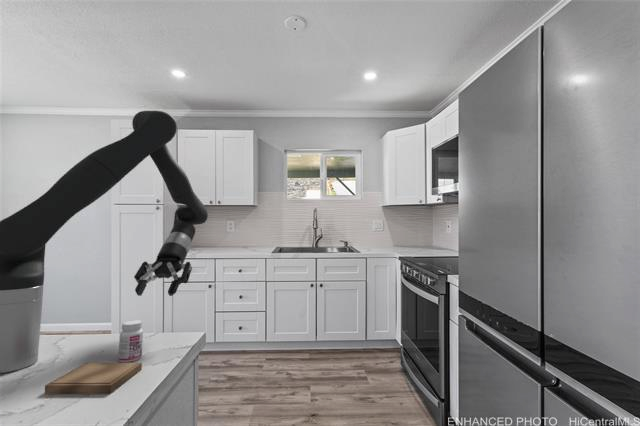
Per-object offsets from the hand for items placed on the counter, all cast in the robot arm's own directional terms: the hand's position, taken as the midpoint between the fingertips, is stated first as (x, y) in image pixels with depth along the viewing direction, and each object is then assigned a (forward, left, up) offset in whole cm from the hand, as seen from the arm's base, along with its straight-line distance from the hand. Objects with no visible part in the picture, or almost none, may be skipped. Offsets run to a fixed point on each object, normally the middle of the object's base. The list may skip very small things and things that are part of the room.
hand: (154, 294), depth 82 cm
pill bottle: (0, -10, -13) cm, 17 cm away
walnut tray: (0, -21, -13) cm, 25 cm away
